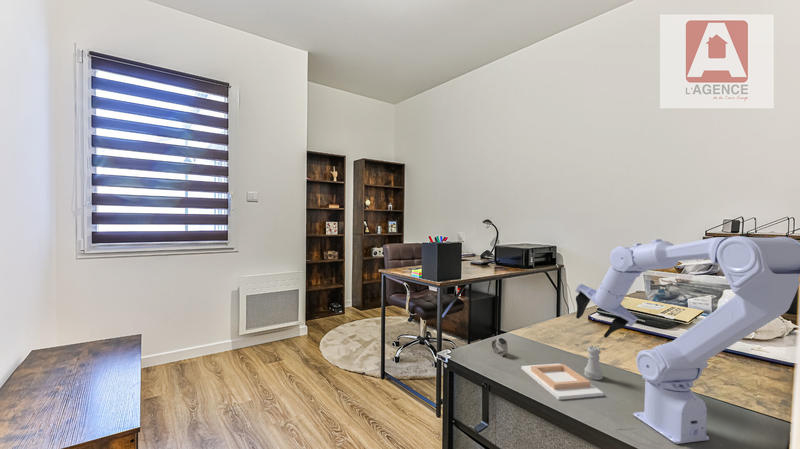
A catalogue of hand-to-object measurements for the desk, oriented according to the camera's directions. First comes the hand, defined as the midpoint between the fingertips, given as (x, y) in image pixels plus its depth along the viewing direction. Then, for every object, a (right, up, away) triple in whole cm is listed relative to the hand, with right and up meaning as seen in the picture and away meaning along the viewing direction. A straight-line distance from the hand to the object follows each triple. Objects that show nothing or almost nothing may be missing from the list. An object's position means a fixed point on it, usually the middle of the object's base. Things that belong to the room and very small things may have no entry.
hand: (592, 325), depth 90 cm
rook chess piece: (0, -14, 0) cm, 14 cm away
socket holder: (-10, -13, -3) cm, 17 cm away
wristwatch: (-21, -13, +14) cm, 28 cm away
